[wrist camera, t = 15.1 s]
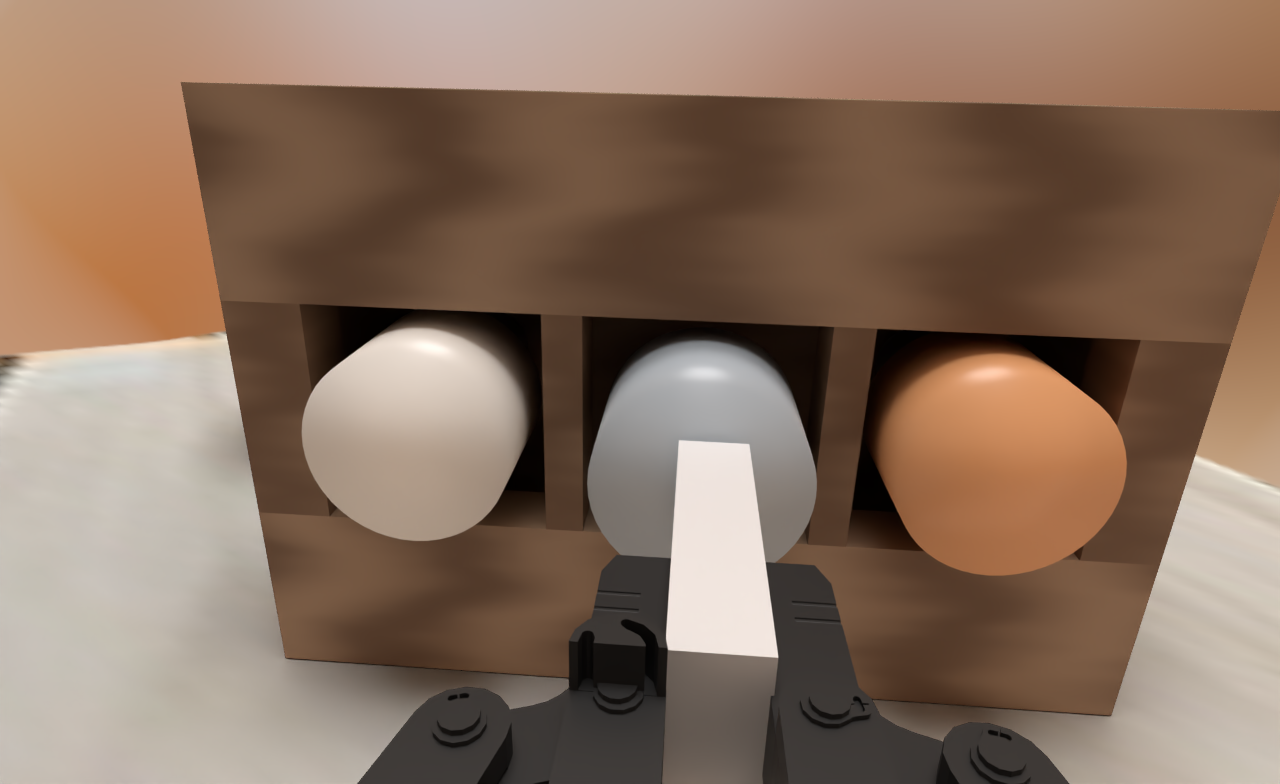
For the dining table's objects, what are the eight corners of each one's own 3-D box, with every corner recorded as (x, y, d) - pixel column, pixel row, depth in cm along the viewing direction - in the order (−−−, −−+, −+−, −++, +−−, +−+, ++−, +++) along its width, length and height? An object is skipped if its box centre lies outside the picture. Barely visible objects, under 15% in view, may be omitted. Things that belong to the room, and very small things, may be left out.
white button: (316, 534, 19) (287, 345, 17) (425, 408, 27) (414, 267, 25) (513, 546, 19) (504, 355, 17) (566, 415, 27) (564, 274, 25)
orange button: (882, 569, 18) (914, 374, 17) (827, 428, 26) (845, 285, 24) (1096, 581, 18) (1153, 385, 16) (977, 436, 26) (1006, 291, 24)
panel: (285, 657, 23) (180, 82, 17) (404, 494, 32) (363, 86, 26) (1111, 715, 22) (1306, 111, 16) (986, 528, 31) (1079, 105, 25)
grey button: (587, 578, 18) (587, 376, 16) (620, 431, 25) (623, 284, 24) (804, 591, 17) (829, 388, 16) (771, 438, 25) (786, 291, 23)
